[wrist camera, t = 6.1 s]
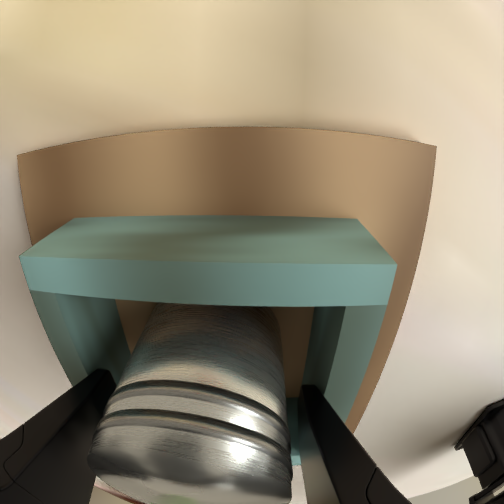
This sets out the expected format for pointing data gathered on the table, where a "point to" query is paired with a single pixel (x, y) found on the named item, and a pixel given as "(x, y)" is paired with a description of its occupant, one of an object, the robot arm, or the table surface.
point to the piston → (199, 411)
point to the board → (230, 244)
